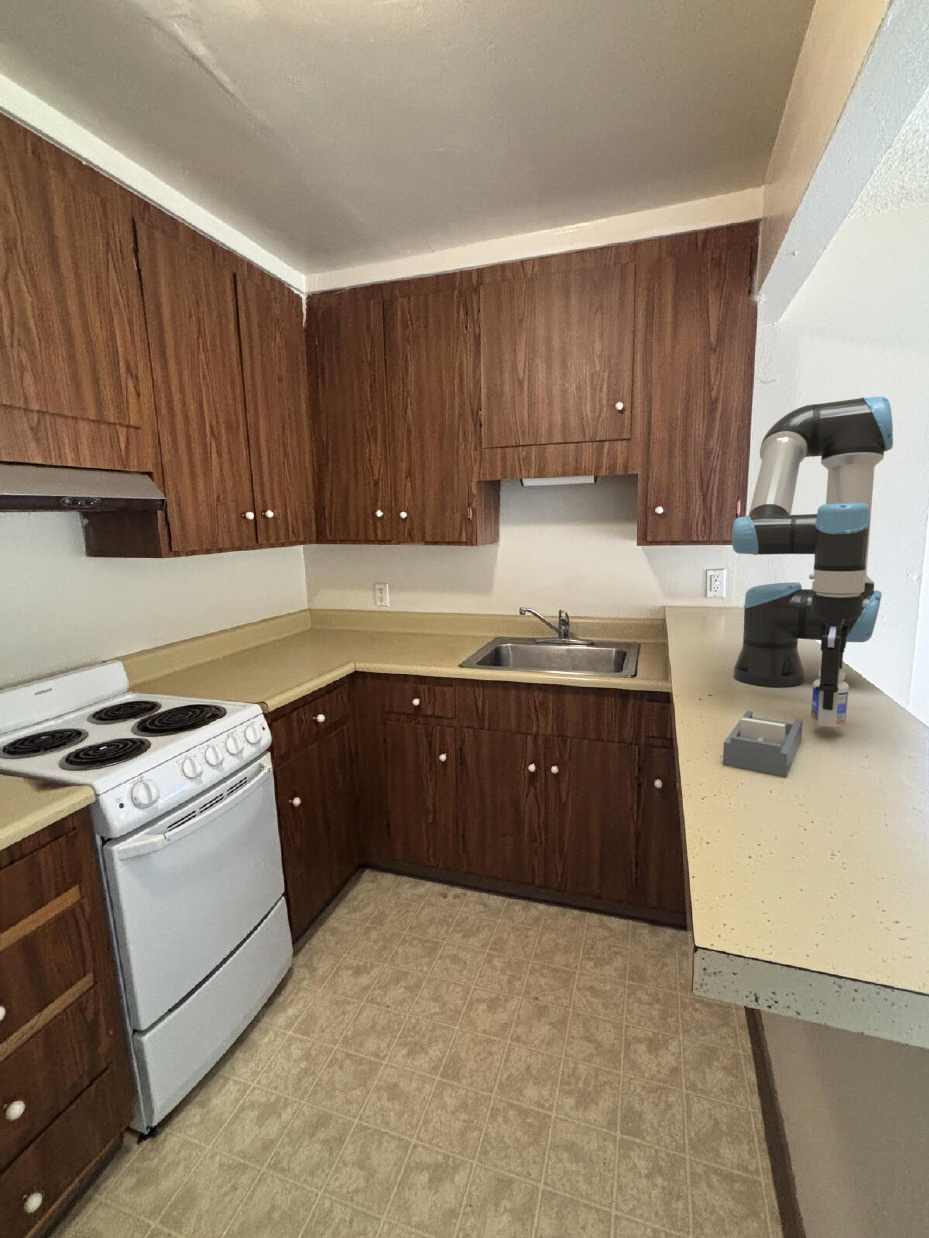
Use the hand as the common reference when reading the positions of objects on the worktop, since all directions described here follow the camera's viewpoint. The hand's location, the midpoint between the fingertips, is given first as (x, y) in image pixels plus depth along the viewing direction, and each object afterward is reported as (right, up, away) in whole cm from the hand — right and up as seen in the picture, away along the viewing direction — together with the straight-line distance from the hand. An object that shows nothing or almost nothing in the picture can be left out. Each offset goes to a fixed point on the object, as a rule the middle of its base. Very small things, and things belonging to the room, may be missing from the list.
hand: (828, 719), depth 102 cm
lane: (-15, -4, -6) cm, 17 cm away
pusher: (-18, -4, -10) cm, 21 cm away
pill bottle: (0, -1, 0) cm, 1 cm away
